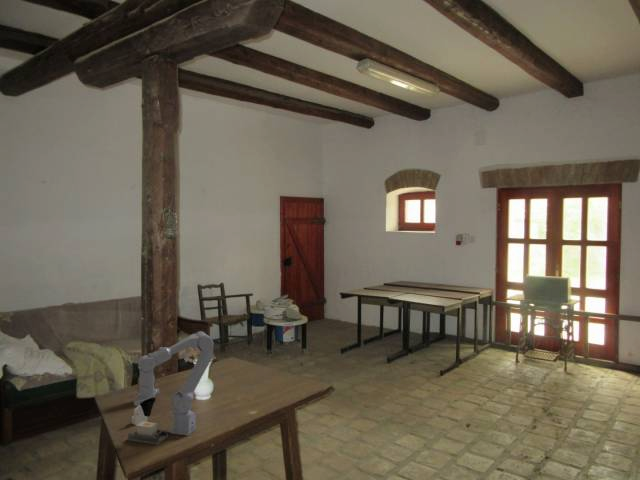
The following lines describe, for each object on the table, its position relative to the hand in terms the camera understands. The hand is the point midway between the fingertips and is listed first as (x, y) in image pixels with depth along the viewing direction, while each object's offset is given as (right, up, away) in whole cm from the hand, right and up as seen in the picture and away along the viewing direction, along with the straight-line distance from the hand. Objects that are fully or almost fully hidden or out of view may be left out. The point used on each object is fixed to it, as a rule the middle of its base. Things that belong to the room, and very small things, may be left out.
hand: (147, 415), depth 203 cm
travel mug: (-15, -8, +40) cm, 44 cm away
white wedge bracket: (-9, -9, +16) cm, 21 cm away
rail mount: (0, -10, +1) cm, 10 cm away
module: (0, -9, +1) cm, 9 cm away
